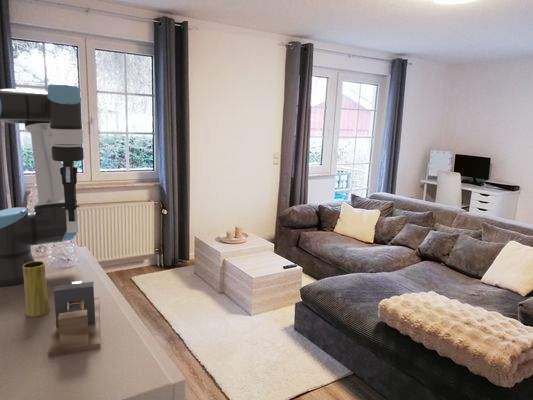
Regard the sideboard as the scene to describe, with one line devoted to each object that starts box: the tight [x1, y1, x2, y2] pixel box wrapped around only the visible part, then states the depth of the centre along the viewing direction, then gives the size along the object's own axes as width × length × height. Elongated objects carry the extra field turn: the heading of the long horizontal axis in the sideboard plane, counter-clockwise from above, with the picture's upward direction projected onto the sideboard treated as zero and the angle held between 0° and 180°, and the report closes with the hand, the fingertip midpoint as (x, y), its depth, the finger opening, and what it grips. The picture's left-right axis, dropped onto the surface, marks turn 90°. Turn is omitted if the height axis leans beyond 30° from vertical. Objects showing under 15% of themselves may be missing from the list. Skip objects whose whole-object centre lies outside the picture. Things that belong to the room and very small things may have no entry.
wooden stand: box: [47, 296, 101, 358], centre depth 105 cm, size 27×11×9 cm, turn 23°
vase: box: [22, 260, 51, 318], centre depth 111 cm, size 6×6×14 cm
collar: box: [53, 281, 95, 328], centre depth 102 cm, size 3×9×10 cm, turn 113°
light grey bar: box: [68, 280, 83, 312], centre depth 105 cm, size 22×3×3 cm, turn 23°
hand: (72, 231), depth 109 cm, fingers closed
